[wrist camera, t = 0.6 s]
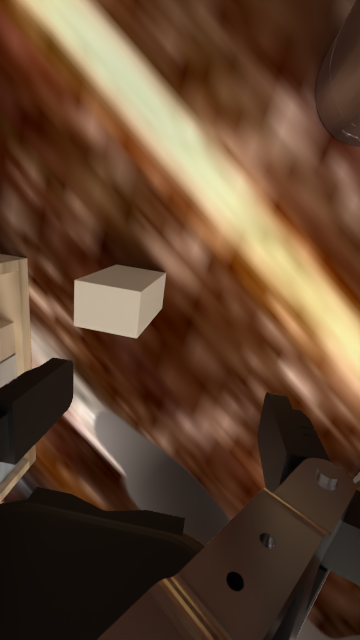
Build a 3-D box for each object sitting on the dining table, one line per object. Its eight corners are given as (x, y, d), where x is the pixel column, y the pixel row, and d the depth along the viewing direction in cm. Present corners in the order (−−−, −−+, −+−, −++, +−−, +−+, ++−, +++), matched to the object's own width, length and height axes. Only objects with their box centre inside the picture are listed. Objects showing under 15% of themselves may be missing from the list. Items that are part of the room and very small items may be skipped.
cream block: (116, 264, 32) (74, 280, 24) (166, 272, 32) (140, 292, 23) (114, 299, 34) (73, 325, 25) (161, 308, 33) (136, 338, 25)
